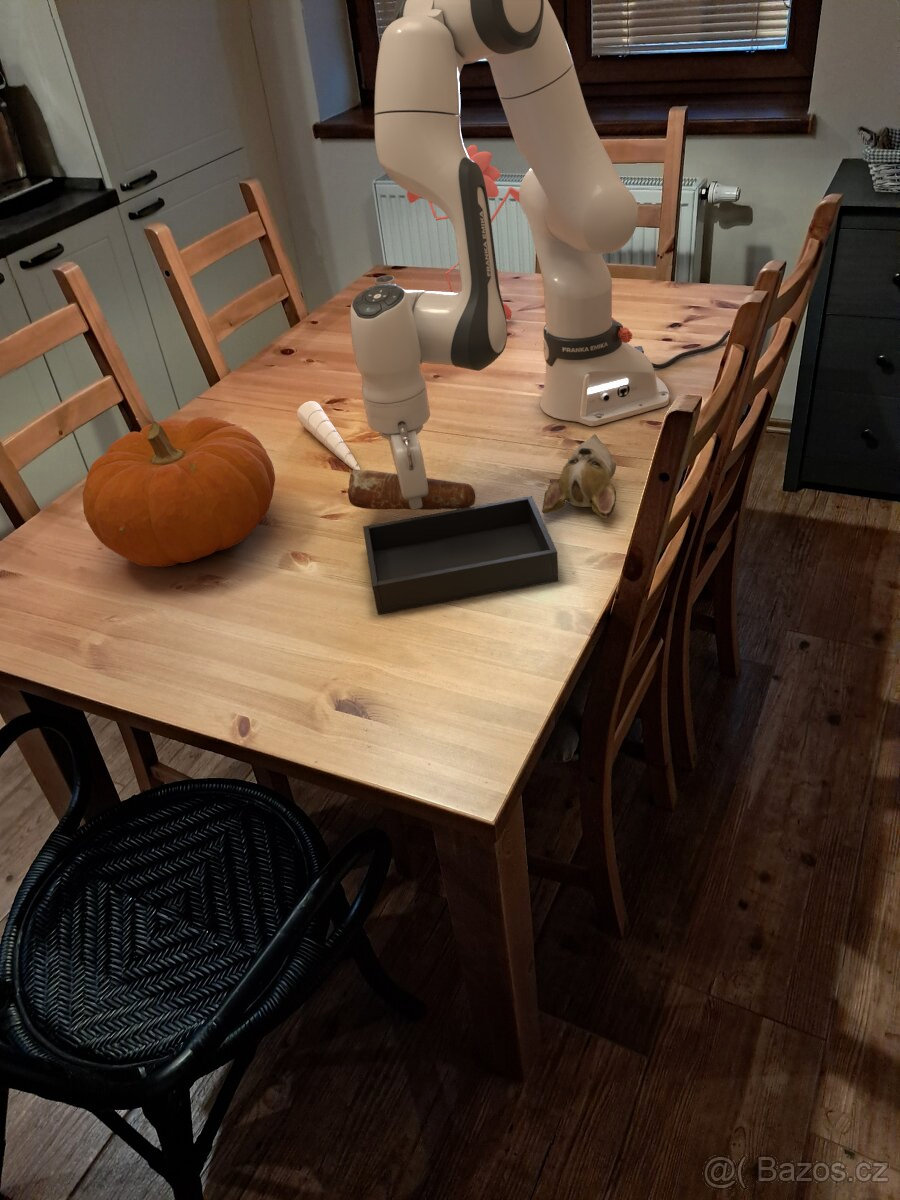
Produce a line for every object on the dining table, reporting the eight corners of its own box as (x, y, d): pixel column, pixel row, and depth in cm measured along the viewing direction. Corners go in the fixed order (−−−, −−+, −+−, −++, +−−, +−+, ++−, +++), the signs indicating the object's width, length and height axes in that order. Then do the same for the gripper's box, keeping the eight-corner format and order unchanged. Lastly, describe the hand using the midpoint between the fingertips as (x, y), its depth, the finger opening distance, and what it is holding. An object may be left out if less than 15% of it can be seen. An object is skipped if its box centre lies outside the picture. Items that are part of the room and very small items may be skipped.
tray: (533, 523, 133) (531, 495, 130) (558, 581, 122) (557, 552, 119) (368, 553, 132) (362, 526, 129) (377, 614, 120) (372, 586, 117)
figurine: (535, 333, 188) (525, 150, 166) (416, 334, 195) (392, 158, 173) (547, 305, 199) (540, 130, 178) (435, 307, 206) (414, 138, 185)
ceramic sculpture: (630, 426, 134) (609, 484, 124) (630, 475, 140) (611, 534, 130) (560, 422, 138) (534, 478, 128) (563, 470, 144) (539, 527, 134)
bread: (361, 493, 141) (354, 462, 137) (480, 498, 135) (476, 465, 132) (347, 516, 136) (340, 484, 132) (470, 522, 131) (465, 489, 127)
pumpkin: (203, 613, 125) (158, 488, 113) (66, 570, 137) (12, 454, 125) (322, 506, 144) (295, 389, 131) (192, 477, 156) (156, 368, 143)
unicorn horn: (340, 483, 148) (335, 457, 146) (298, 427, 166) (293, 403, 163) (367, 475, 150) (362, 449, 147) (323, 420, 167) (318, 396, 165)
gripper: (431, 438, 118) (444, 525, 127) (409, 374, 134) (423, 456, 143) (383, 447, 118) (400, 534, 126) (367, 382, 134) (383, 463, 142)
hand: (412, 492), depth 135 cm, fingers closed on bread, 6 cm apart
